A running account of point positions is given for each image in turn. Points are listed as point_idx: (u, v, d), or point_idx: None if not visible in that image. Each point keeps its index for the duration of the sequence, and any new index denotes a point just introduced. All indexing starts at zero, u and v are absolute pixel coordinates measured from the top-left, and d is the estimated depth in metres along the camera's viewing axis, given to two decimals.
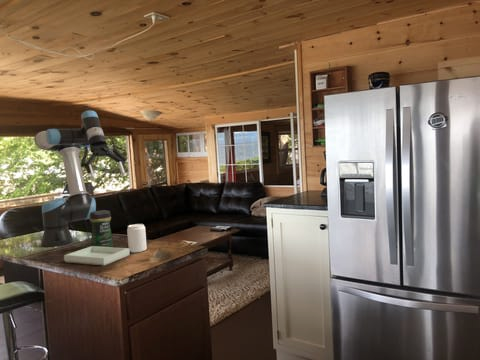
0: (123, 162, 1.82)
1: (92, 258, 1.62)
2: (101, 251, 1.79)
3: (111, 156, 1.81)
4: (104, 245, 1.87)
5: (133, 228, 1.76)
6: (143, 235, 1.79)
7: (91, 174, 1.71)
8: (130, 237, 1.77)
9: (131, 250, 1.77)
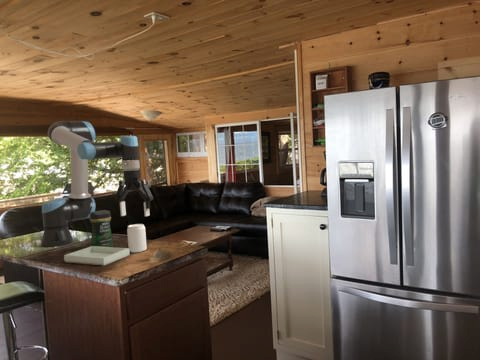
0: (150, 200, 1.76)
1: (92, 258, 1.62)
2: (101, 251, 1.79)
3: None
4: (104, 245, 1.87)
5: (133, 228, 1.76)
6: (143, 235, 1.79)
7: None
8: (130, 237, 1.77)
9: (131, 250, 1.77)
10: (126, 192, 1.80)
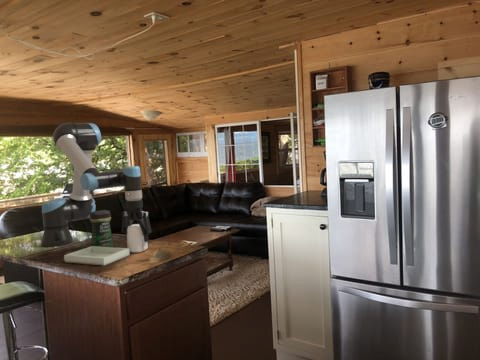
0: (148, 233, 1.78)
1: (92, 258, 1.62)
2: (101, 251, 1.79)
3: None
4: (104, 245, 1.87)
5: (133, 228, 1.76)
6: None
7: None
8: (130, 237, 1.77)
9: (131, 250, 1.77)
10: (131, 222, 1.81)
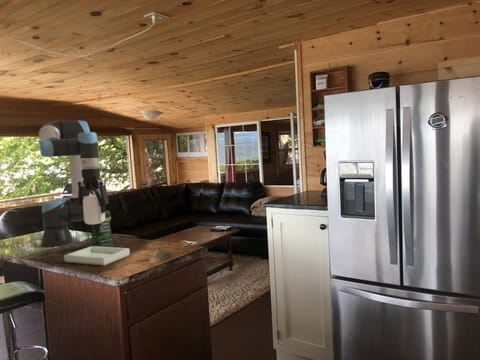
0: (105, 204, 1.67)
1: (92, 258, 1.62)
2: (101, 251, 1.79)
3: None
4: (104, 245, 1.87)
5: (89, 198, 1.65)
6: None
7: None
8: (86, 208, 1.66)
9: (87, 221, 1.66)
10: (87, 193, 1.70)
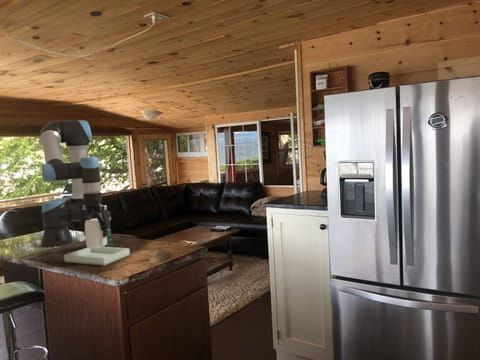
0: (107, 228, 1.68)
1: (92, 258, 1.62)
2: (101, 251, 1.79)
3: None
4: None
5: (90, 222, 1.66)
6: None
7: None
8: (88, 232, 1.66)
9: (89, 246, 1.67)
10: (89, 217, 1.70)
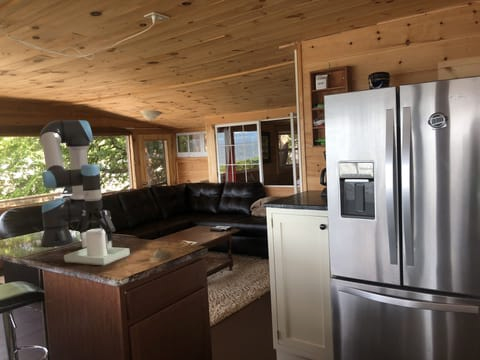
0: (111, 232, 1.67)
1: (92, 258, 1.62)
2: None
3: None
4: None
5: (91, 233, 1.67)
6: (103, 240, 1.69)
7: None
8: (89, 243, 1.67)
9: None
10: (87, 223, 1.71)
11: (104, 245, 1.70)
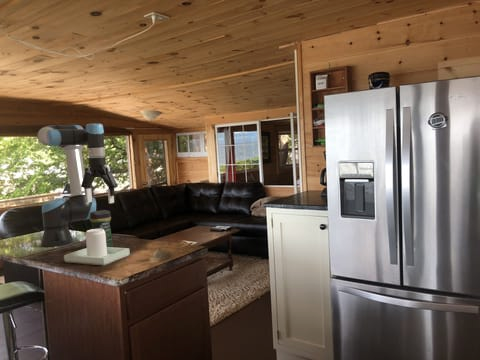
0: None
1: (92, 258, 1.62)
2: None
3: None
4: None
5: (91, 233, 1.67)
6: (103, 241, 1.69)
7: None
8: (88, 243, 1.67)
9: None
10: (92, 179, 1.82)
11: (104, 245, 1.70)
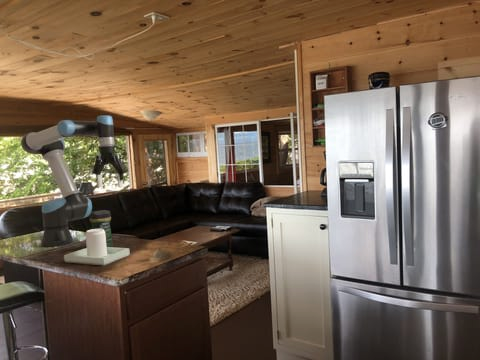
0: None
1: (92, 258, 1.62)
2: None
3: None
4: None
5: (91, 233, 1.66)
6: (103, 241, 1.69)
7: None
8: (88, 243, 1.67)
9: None
10: (102, 166, 2.02)
11: (104, 245, 1.70)
